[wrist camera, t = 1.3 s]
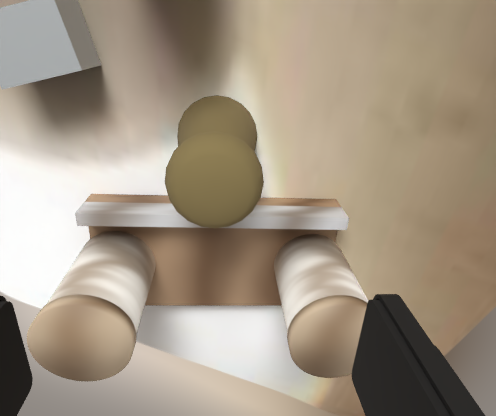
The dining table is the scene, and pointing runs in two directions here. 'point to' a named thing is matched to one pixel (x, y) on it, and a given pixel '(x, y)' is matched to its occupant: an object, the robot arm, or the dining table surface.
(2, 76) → the grey rectangular block
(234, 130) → the cork
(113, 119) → the dining table surface
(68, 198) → the dining table surface
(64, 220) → the dining table surface
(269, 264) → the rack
